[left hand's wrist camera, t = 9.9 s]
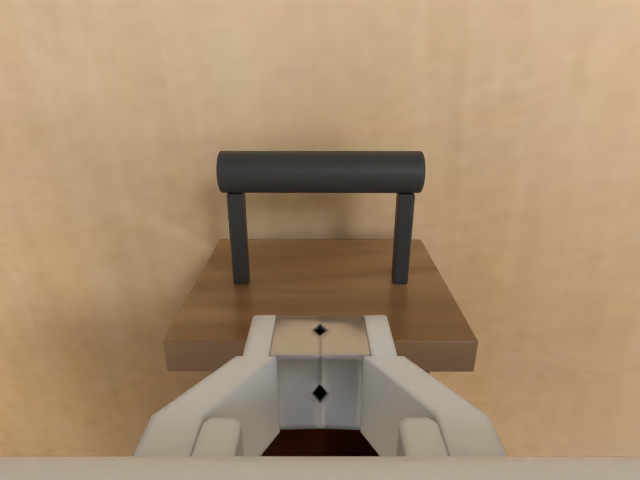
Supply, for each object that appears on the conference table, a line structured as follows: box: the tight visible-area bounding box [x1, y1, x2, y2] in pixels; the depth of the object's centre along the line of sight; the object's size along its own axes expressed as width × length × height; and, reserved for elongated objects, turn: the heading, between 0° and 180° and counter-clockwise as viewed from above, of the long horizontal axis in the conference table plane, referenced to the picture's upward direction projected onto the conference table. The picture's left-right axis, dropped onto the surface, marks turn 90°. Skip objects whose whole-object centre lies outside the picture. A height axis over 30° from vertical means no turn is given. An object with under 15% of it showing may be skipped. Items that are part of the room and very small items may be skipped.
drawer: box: [163, 151, 478, 456], centre depth 21 cm, size 25×10×9 cm, turn 0°
